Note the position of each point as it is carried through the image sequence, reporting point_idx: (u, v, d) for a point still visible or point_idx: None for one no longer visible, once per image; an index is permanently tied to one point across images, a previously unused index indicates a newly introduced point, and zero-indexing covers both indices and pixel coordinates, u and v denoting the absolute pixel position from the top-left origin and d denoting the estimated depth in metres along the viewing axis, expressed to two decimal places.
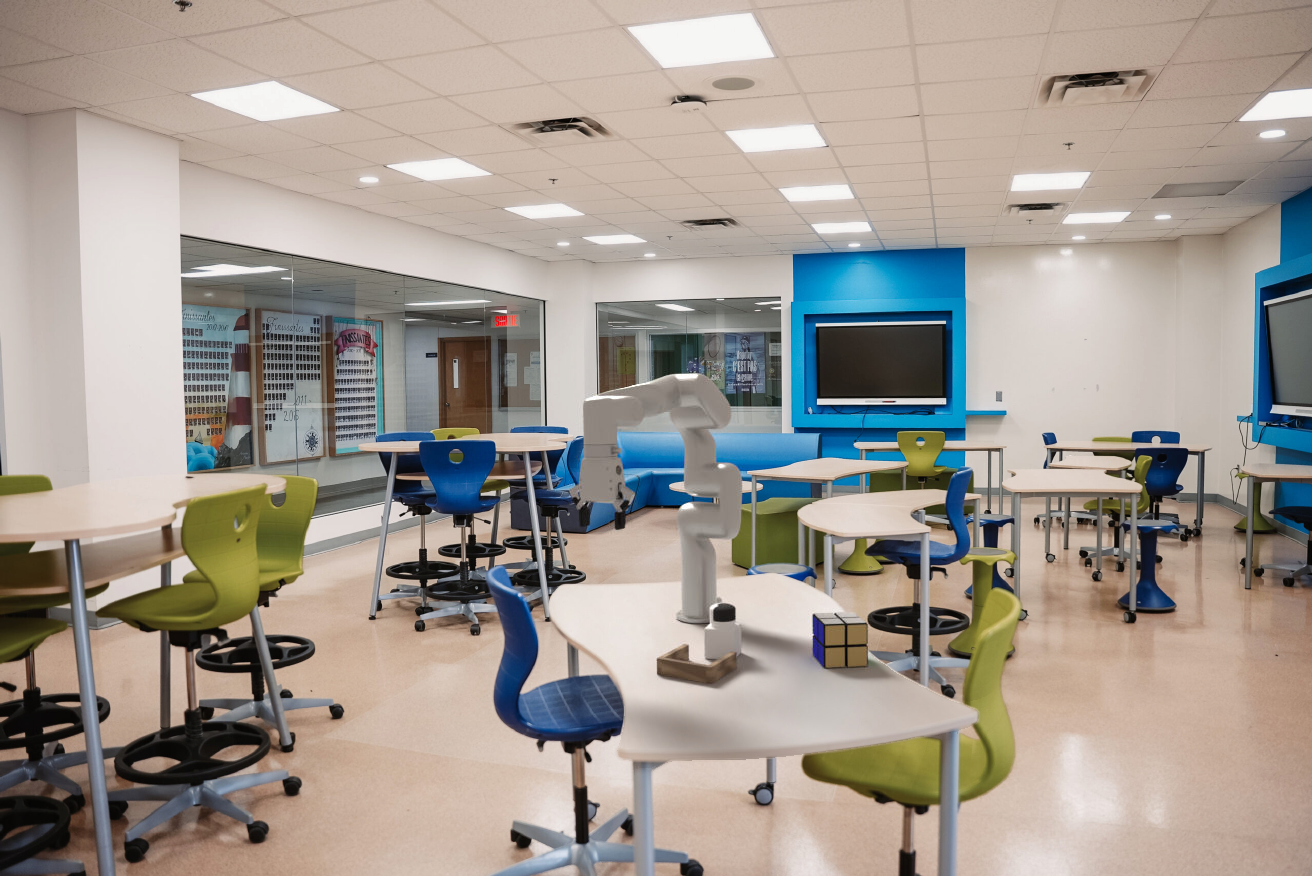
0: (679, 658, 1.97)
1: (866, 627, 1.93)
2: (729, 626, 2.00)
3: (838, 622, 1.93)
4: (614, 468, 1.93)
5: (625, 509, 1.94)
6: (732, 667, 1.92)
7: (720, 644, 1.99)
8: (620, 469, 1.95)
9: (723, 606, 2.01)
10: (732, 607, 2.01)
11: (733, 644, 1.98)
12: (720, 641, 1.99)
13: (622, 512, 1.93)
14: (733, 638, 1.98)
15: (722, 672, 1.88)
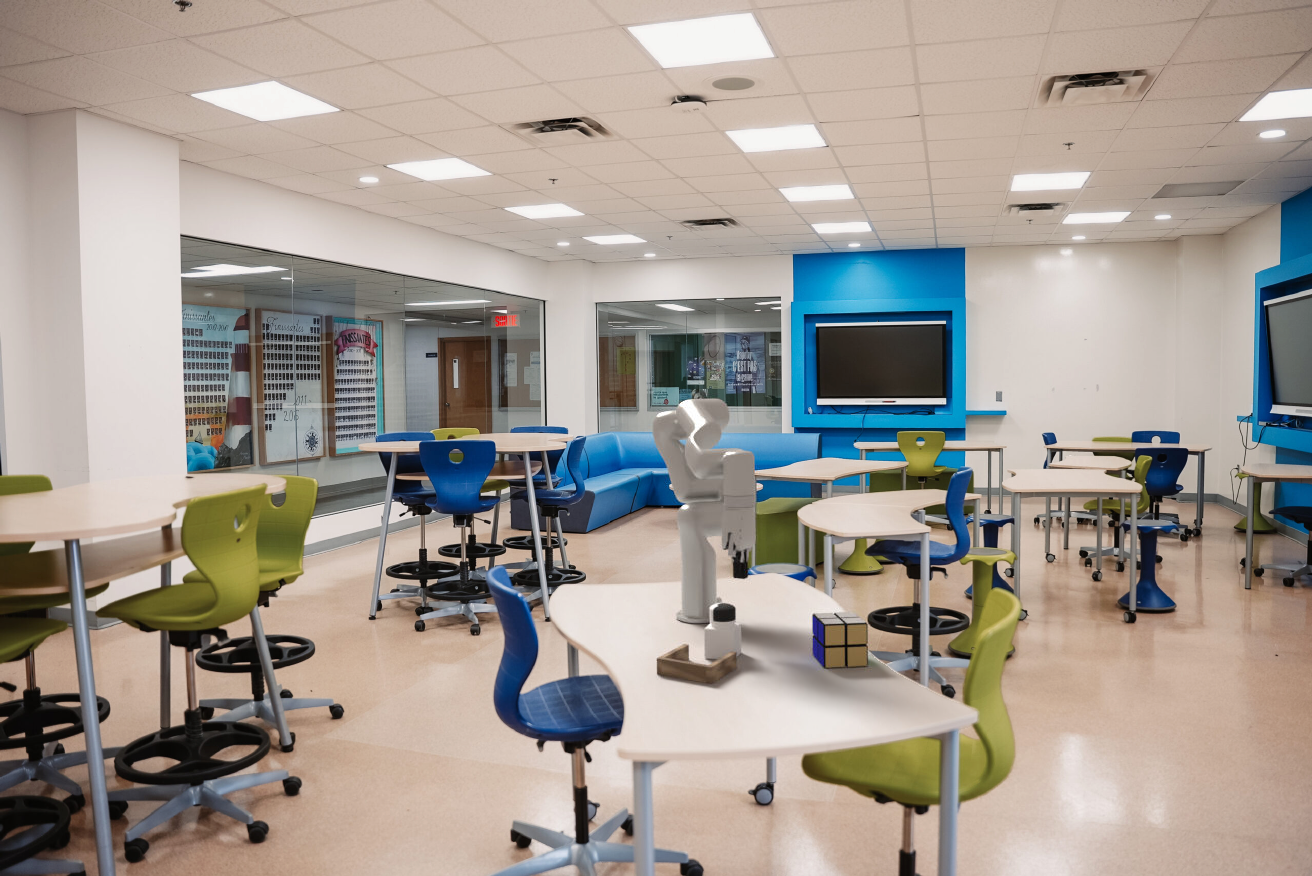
0: (679, 658, 1.97)
1: (866, 627, 1.93)
2: (729, 626, 2.00)
3: (838, 622, 1.93)
4: None
5: None
6: (732, 667, 1.92)
7: (720, 644, 1.99)
8: None
9: (723, 606, 2.01)
10: (732, 607, 2.01)
11: (733, 644, 1.98)
12: (720, 641, 1.99)
13: None
14: (733, 638, 1.98)
15: (722, 672, 1.88)
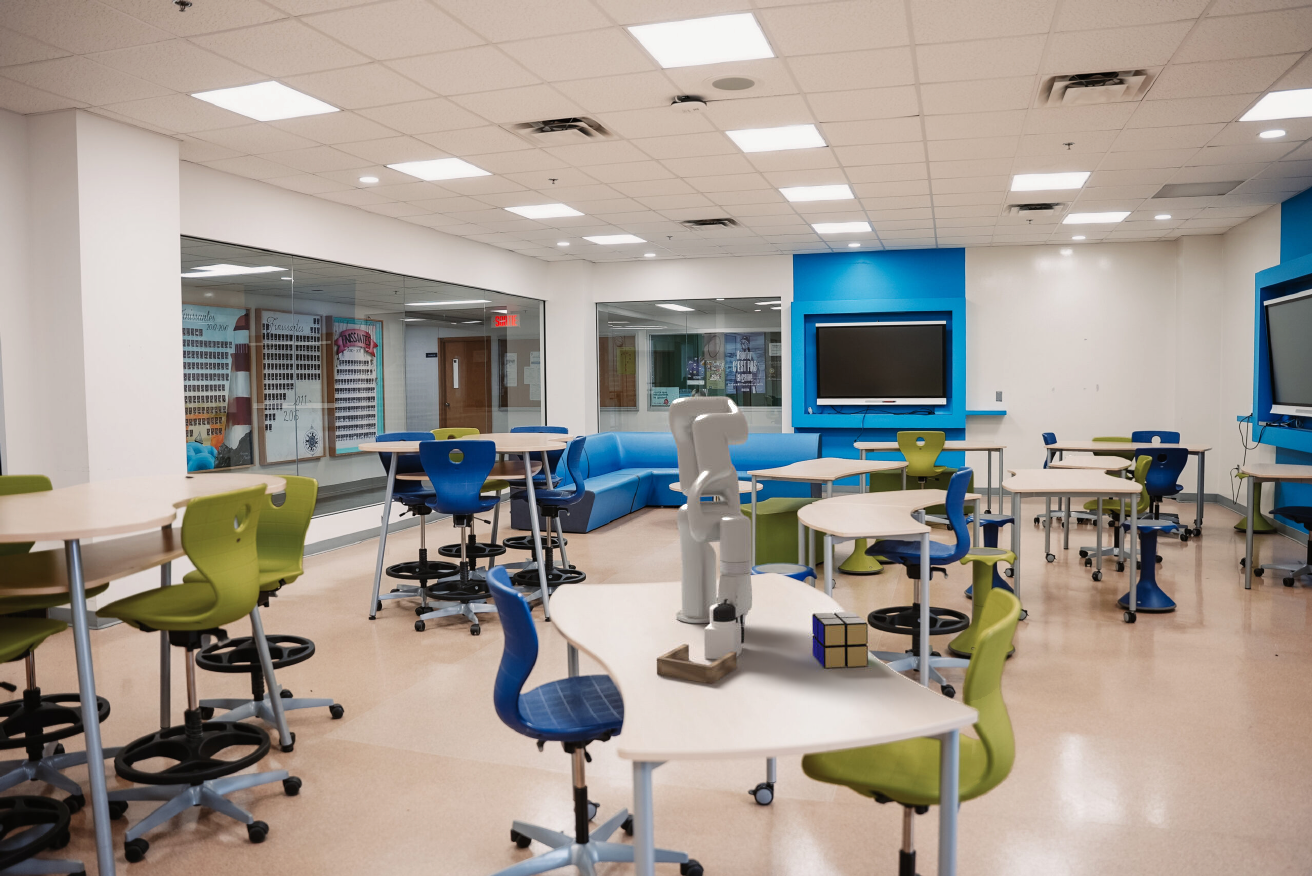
0: (679, 658, 1.97)
1: (866, 627, 1.93)
2: (729, 626, 2.00)
3: (838, 622, 1.93)
4: None
5: None
6: (732, 667, 1.92)
7: (720, 644, 1.99)
8: None
9: (723, 606, 2.01)
10: (732, 607, 2.01)
11: (733, 644, 1.98)
12: (720, 641, 1.99)
13: None
14: (733, 638, 1.98)
15: (722, 672, 1.88)
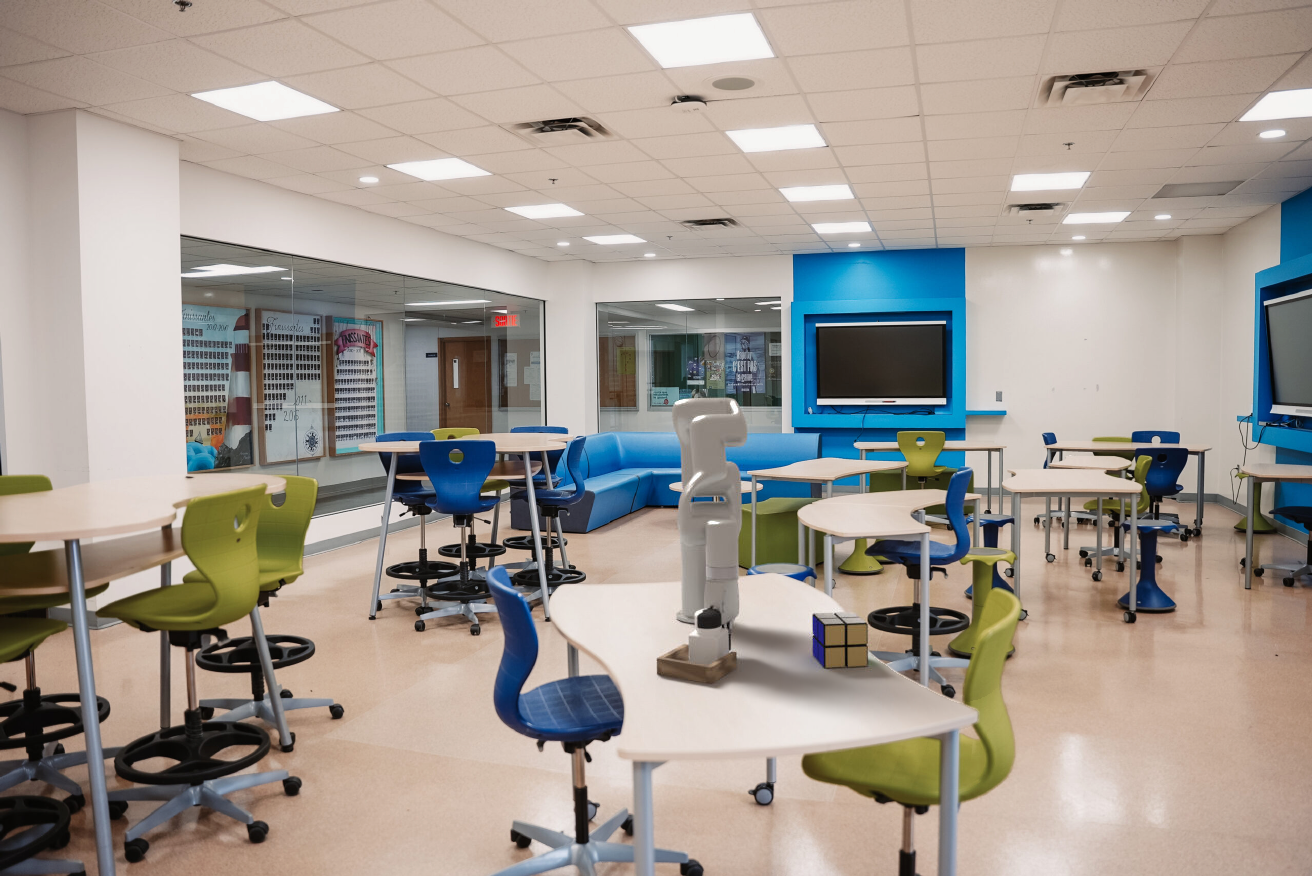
0: (679, 658, 1.97)
1: (866, 627, 1.93)
2: (714, 633, 1.94)
3: (838, 622, 1.93)
4: None
5: None
6: (732, 667, 1.92)
7: (704, 651, 1.94)
8: None
9: (708, 612, 1.95)
10: (717, 613, 1.95)
11: (717, 652, 1.93)
12: (704, 649, 1.94)
13: None
14: (717, 646, 1.92)
15: (722, 672, 1.88)
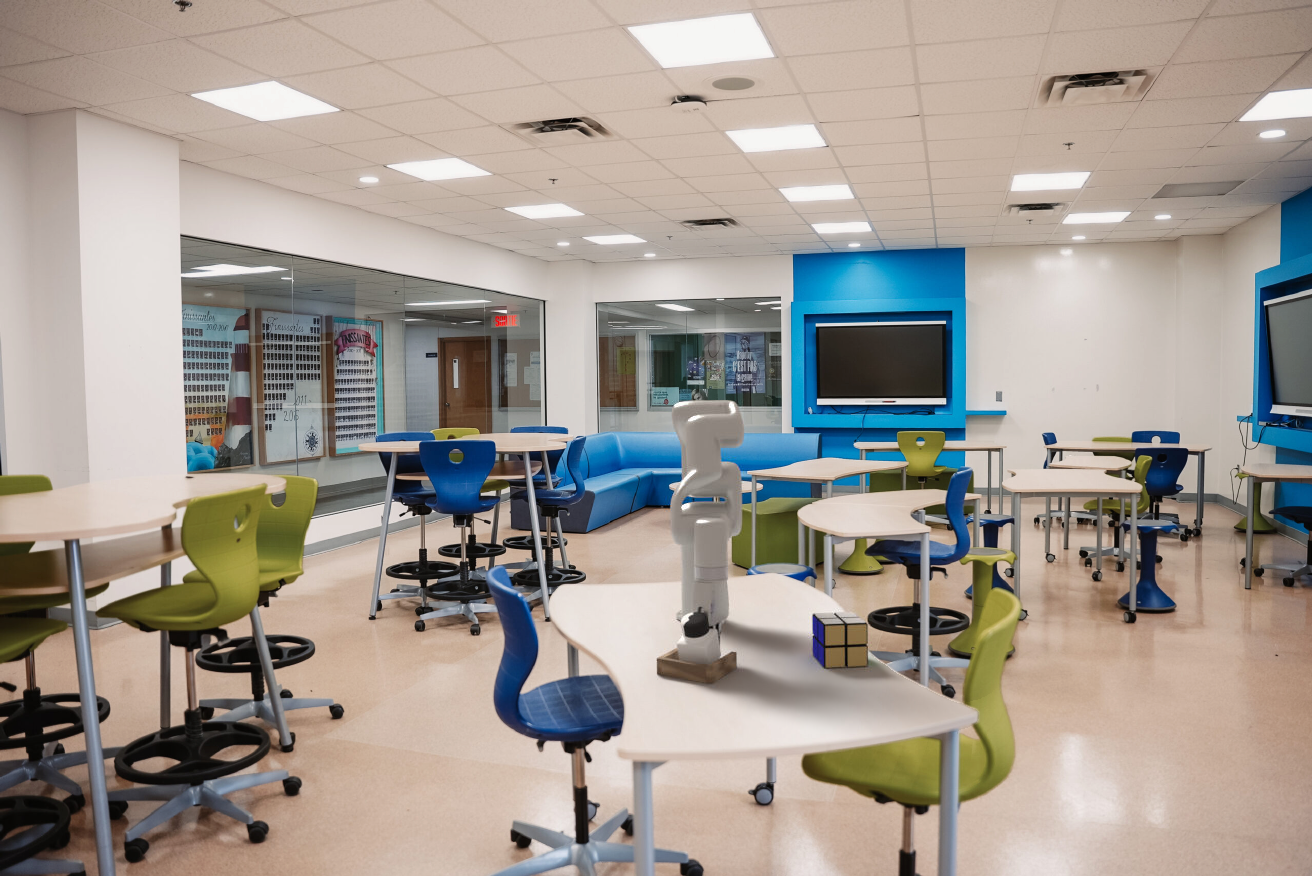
0: None
1: (866, 627, 1.93)
2: (702, 640, 1.89)
3: (838, 622, 1.93)
4: None
5: None
6: (732, 667, 1.92)
7: (694, 658, 1.90)
8: None
9: (694, 621, 1.89)
10: (703, 621, 1.89)
11: (707, 659, 1.88)
12: (694, 656, 1.90)
13: None
14: (706, 654, 1.88)
15: (722, 672, 1.88)
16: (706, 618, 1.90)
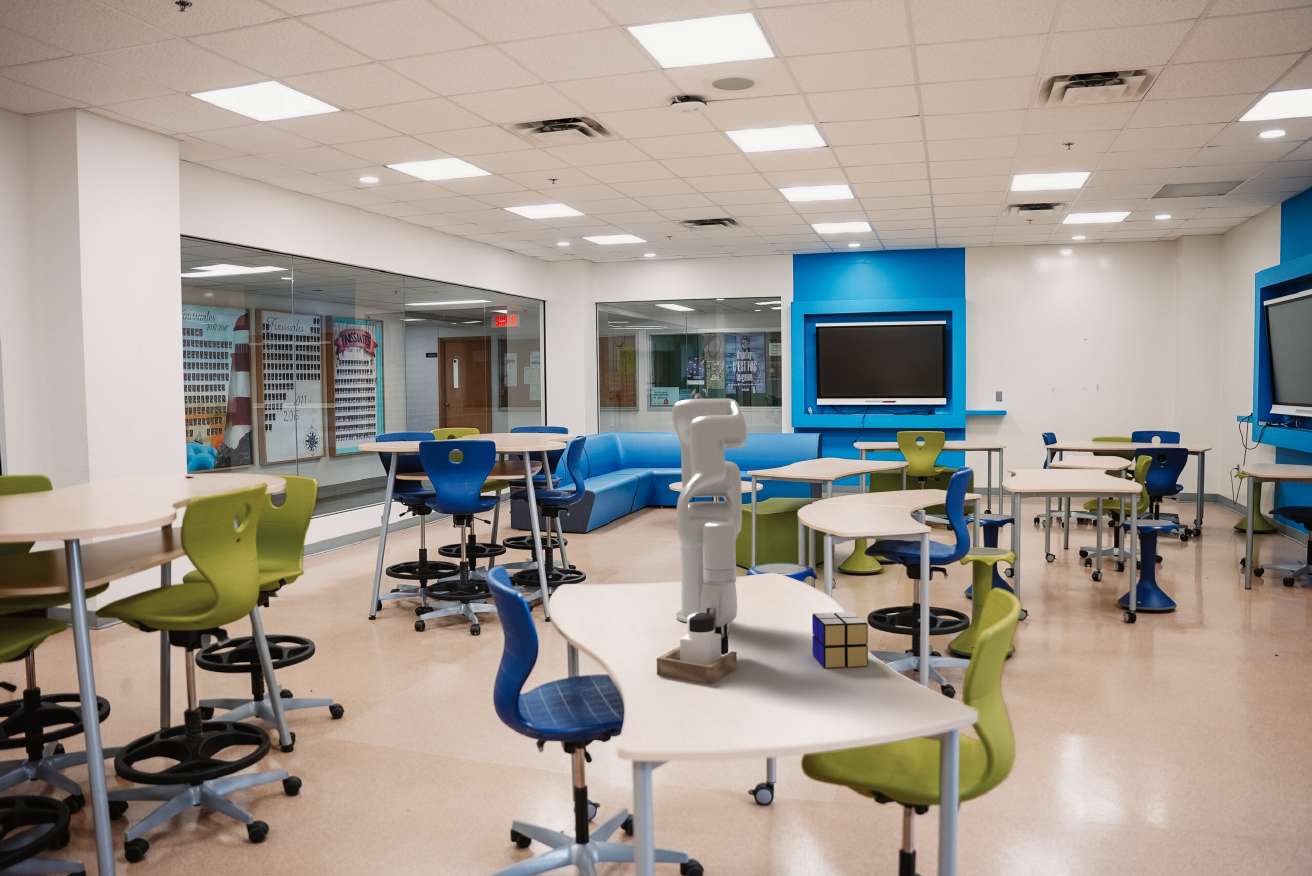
0: (679, 658, 1.97)
1: (866, 627, 1.93)
2: (706, 637, 1.92)
3: (838, 622, 1.93)
4: None
5: None
6: (732, 667, 1.92)
7: (696, 655, 1.91)
8: None
9: (700, 616, 1.93)
10: (710, 617, 1.92)
11: (709, 656, 1.90)
12: (695, 653, 1.91)
13: None
14: (709, 650, 1.90)
15: (722, 672, 1.88)
16: (712, 616, 1.94)
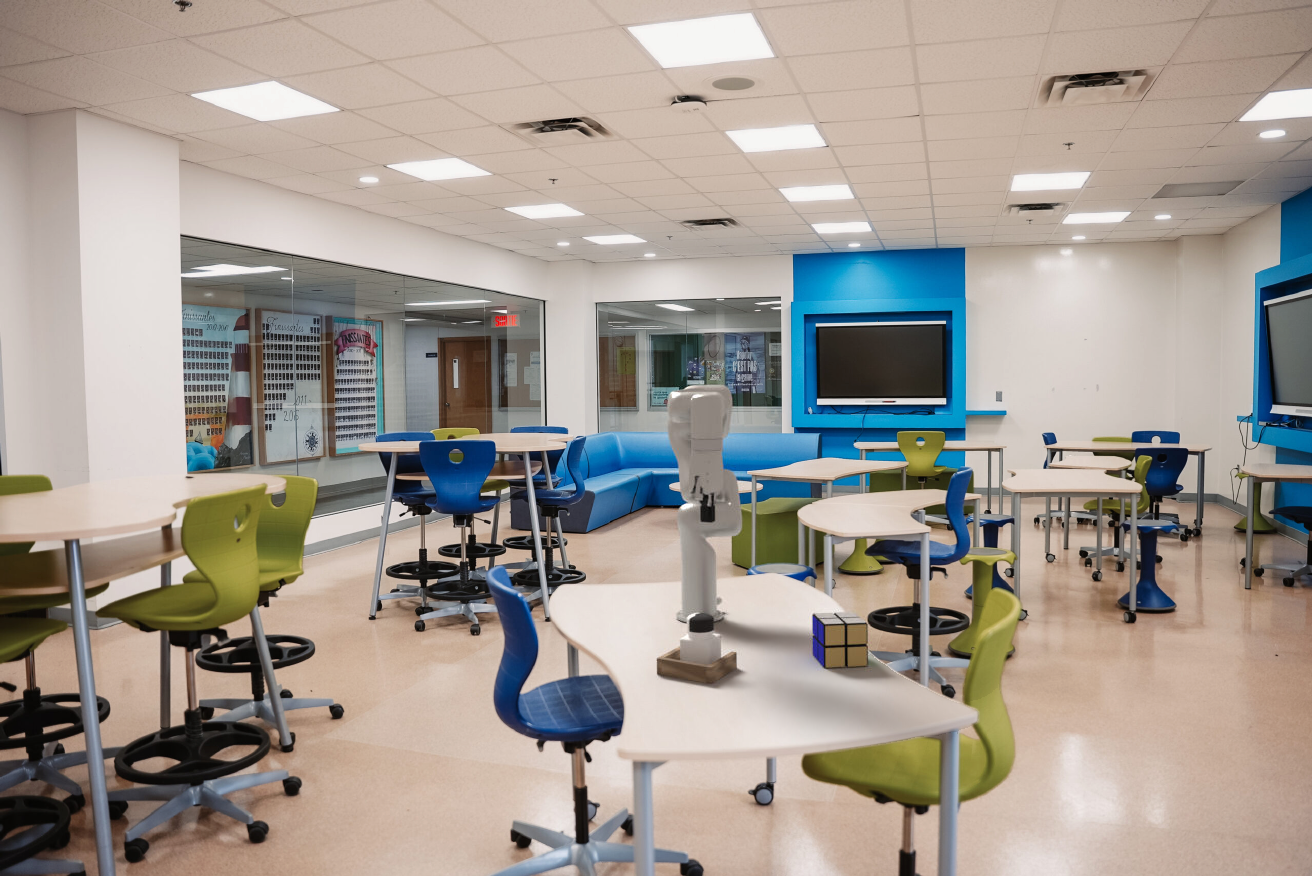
0: (679, 658, 1.97)
1: (866, 627, 1.93)
2: (706, 637, 1.92)
3: (838, 622, 1.93)
4: None
5: None
6: (732, 667, 1.92)
7: (696, 656, 1.91)
8: None
9: (700, 616, 1.93)
10: (709, 617, 1.92)
11: (709, 656, 1.90)
12: (695, 653, 1.91)
13: None
14: (709, 650, 1.90)
15: (722, 672, 1.88)
16: (712, 617, 1.93)
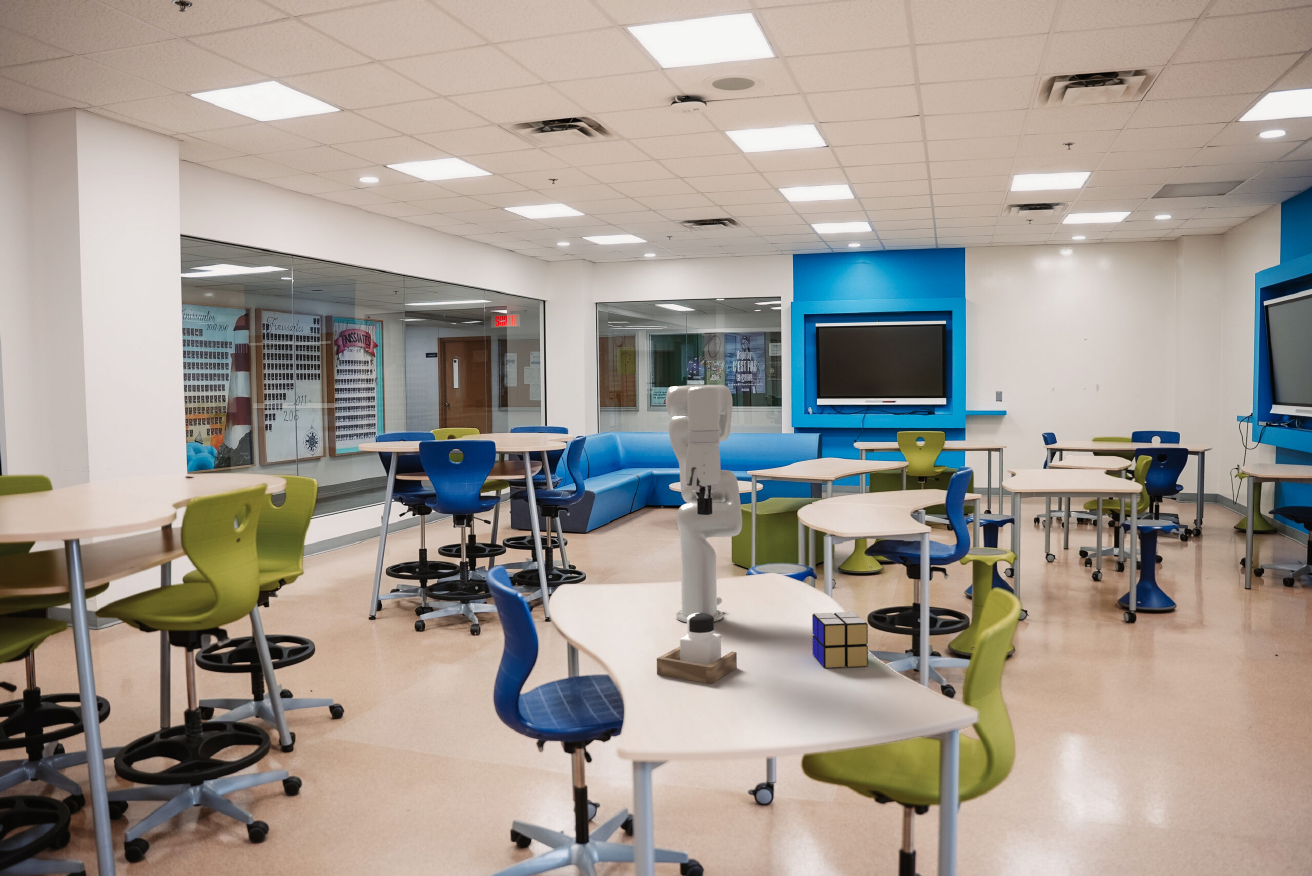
0: (679, 658, 1.97)
1: (866, 627, 1.93)
2: (706, 637, 1.92)
3: (838, 622, 1.93)
4: None
5: None
6: (732, 667, 1.92)
7: (696, 656, 1.91)
8: None
9: (700, 616, 1.93)
10: (709, 617, 1.92)
11: (709, 656, 1.90)
12: (695, 653, 1.91)
13: None
14: (709, 650, 1.90)
15: (722, 672, 1.88)
16: (712, 617, 1.93)
